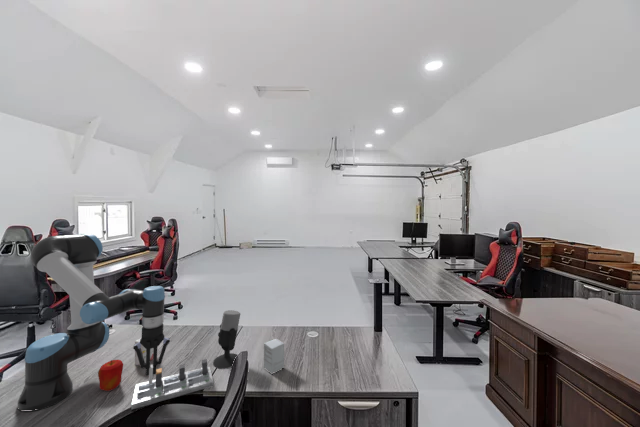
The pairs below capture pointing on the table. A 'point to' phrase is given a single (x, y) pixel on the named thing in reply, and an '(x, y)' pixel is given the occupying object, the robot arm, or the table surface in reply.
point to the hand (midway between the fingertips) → (150, 382)
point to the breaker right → (204, 367)
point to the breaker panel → (171, 387)
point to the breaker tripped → (159, 378)
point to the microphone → (227, 339)
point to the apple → (110, 375)
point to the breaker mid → (181, 372)
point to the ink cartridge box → (143, 353)
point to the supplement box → (274, 355)
